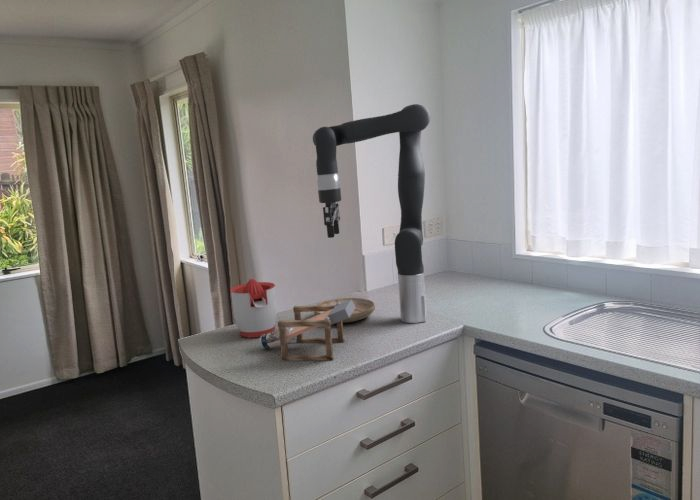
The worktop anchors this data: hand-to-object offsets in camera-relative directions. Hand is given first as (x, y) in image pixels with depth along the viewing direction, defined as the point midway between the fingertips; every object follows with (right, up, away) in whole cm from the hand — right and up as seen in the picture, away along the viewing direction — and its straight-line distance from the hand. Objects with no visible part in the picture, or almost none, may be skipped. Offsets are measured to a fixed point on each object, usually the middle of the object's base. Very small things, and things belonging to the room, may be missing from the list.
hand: (333, 235), depth 188 cm
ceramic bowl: (+4, -31, +20) cm, 37 cm away
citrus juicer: (-27, -35, +8) cm, 45 cm away
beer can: (-12, -32, -13) cm, 36 cm away
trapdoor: (-3, -28, -15) cm, 32 cm away
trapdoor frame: (-6, -37, -13) cm, 39 cm away
